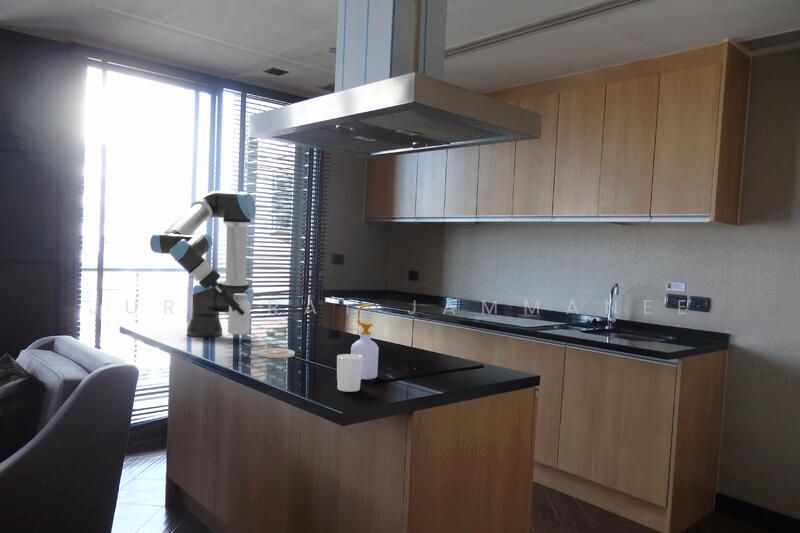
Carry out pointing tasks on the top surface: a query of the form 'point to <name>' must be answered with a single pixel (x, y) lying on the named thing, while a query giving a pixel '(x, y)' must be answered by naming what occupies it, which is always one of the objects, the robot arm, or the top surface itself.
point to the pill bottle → (235, 321)
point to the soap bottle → (366, 350)
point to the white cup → (349, 372)
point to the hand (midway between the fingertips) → (248, 318)
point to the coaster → (276, 353)
